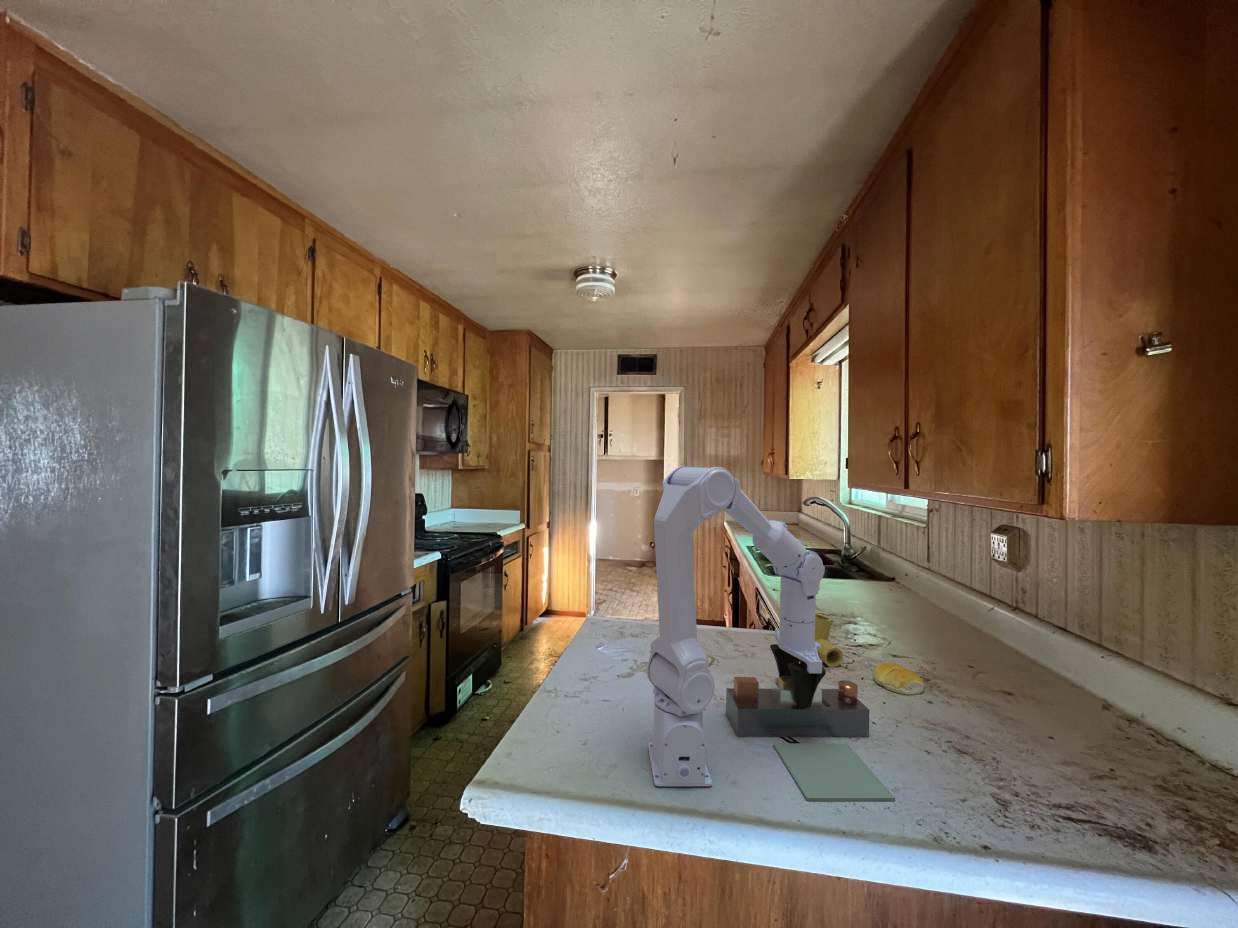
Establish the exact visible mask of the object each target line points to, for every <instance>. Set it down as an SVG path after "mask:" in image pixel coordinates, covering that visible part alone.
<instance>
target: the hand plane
mask: <svg viewBox="0 0 1238 928" xmlns="http://www.w3.org/2000/svg"><path fill="white" fill-rule="evenodd" d="M759 684H760V682H759V681H758V679H757V678H756V677H755V676H734V677H733V688H730V687H729V688H728V687H726V691H725V693H726V695H725V696H726V697H725V700H726V701H725V715H726V717H727V718H728V721H729V723H730V725H731V727H732V729H733V730H734V733H735V735H736V737H740V738H741V737H748V738H749V737H751V738H753V737H754V738H757V737H758V738H759V737H760V738H761V737H763V738H764V737H767V738H768V737H770V738H771V737H780V738H781V737H782V738H785V737H788V738H796V737H797V738H799V737H800V738H801V737H802V738H804V737H806V738H809V737H810V738H811V737H812V738H869V737H870V710H871V709H869V708H868V706H866V705H865V704H864V703H863V702H862V701H861V700H860V699H858V693H859V692H858V689H859V687H858V684H856V683H855V682H853V681H850V680H839V681H838V683H837V684H838V685H837V688H820V689H821V690H822V706H811V707H810V708H799V707H798V706H786V705H780V704H779V703H778V702H777V700H776V699H775V698H774V696H773V695H772V693H771V692H770V688H759V687H760V685H759Z"/></svg>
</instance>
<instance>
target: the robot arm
mask: <svg viewBox="0 0 1238 928" xmlns="http://www.w3.org/2000/svg"><path fill="white" fill-rule="evenodd" d="M722 511H724V512H725V513H726V514H727V515H729V516H730V517H731V518H732V519H734V521H736V522H737V523H738V524H739V525H741V527H743V528H744V529H745V530H746V531H747V532H749V533H750V534H751V535H752V544H753V546H754V547H755V548H756V550H758V551H759V552H760V553H761V554H762V555H763V556H764V557H765V558H766V559H768V561H769V562H771V563H772V569H773V572H774V573H775V575H776V576H779V577H780V593H779V598H780V599H779V626H778V627H779V628H778V627H777V628H774V629H775V630H774V639H775V640H776V641H777V644H776V643H775V644H773V643H772V644H770V645H769V647H770V650H771V652H772V654H773V655H772V656H773V657H774V660H775V662H776V663H775V664H776V667H777V671H778V676H792V679H793V683H794V692H795V701H796V705H797V706H798V707H799V708H810V707H811V704H812V701H813V697H814V694H815V691H816V688H817V686H818V685H819V684H820V682H821V681H822V680H823V678H824V677H825V676H826V672H827V671H826V668H825V667H823V661H822V660H820V659H819V656H818V653H817V650H820V649H821V645H820V644H819V643H818V642H815V613H816V610H817V609H816V605H817V603H816V601H817V595H818V594H819V592H820V584H821V581H822V580H823V578H824V574H825V570H826V567H825V566H824V564H823V560H822V558H821V557H820V556H819V554H818V553H817V552H815V551H813V550H810V549H806V547H805V546H804V545H803V541H802V540H801V539H798V538H796V537H795V536H794V535H793V534H792V533H791V532H790V531H789V529H788V526H789V525H787V524H786V523H785V522H784V521H777V520H774V519H772V520H768V518H767V517H766V516H765V515H764V513H762V512H761V510H760V509H759V508H758V507H757V506H756V504H754V502H753V501H752V500H751V499H750V498H749V497H748V496H747V495H746V493H745V492H744V491H743V490H742V488H741V483H740V480H739V479H737V478H736V477H733V475H732V474H731V472H730V471H729V470H727V469H726V468H724V467H720V466H714V467H694V466H692V467H690V466H685V465H680V466H678V467H676V468H675V469H673V470H672V471H671V472H670V473H669V474H668V475H667V476H666V477H665V478H664V479H663V480H662V496H661V499H660V501H659V504H658V507H657V509H656V512H655V515H654V519H653V532H654V550H655V552H654V553H655V566H656V567H655V570H656V589H657V591H656V592H657V608H658V609H657V610H658V628H659V631H658V633H659V636H658V637H657V638H655V639H653V640H652V641H651V642H650V654H649V658H648V661H647V665H646V671H645V672H646V677H647V679H648V681H649V682H650V684H651V685H652V686H653V691H652V692H653V694H654V696H653V697H654V701H653V702H654V703H653V704H654V705H653V738H652V739H653V741H649V742H648V743H647V749H648V754H649V761H650V767H651V771H652V773H651V774H652V778H653V779H652V780H653V785H654V786H656V787H711V786H713V780H712V777H711V774H710V772H709V768H708V766H707V763H706V756H707V753H706V752H707V750H706V749H707V742H706V737H705V733H704V730H703V726H704V722H703V721H704V712H705V711H706V708H707V707H708V705H710V703H711V701H712V699H713V696H714V692H715V687H716V686H715V679H714V677H713V674H712V673H711V671H710V668H709V659H708V656H707V654H706V652H705V651H704V649H703V646H702V645H701V644H700V641H699V640H698V630H697V614H696V613H697V610H696V609H697V608H696V589H695V569H694V568H695V567H694V565H695V564H694V549H693V548H694V547H693V533H694V531H695V530H696V529H697V528H698V527H699V526H700V525H701V524H702V523H705V522H706V521H708V520H709V519H711V518H713V517H715V515H717V514H719V513H720V512H722ZM818 687H819V686H818Z"/></svg>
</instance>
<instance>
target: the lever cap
mask: <svg viewBox="0 0 1238 928" xmlns="http://www.w3.org/2000/svg"><path fill="white" fill-rule="evenodd" d="M769 689H770V692H771V693H772V695H773V696H774V698H775V699H776V700H777V702H778V703H779V704H780V705H786V706H797V705H796V701H795V692H794V683H793V679H792V676H779V675H778V676H777V677H770V688H769ZM821 689H822V688H820V687H819V686H817V688H816V691H815V694H814V697H813V701H812V704H811V706H822V690H821Z"/></svg>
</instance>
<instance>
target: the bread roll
mask: <svg viewBox="0 0 1238 928" xmlns="http://www.w3.org/2000/svg"><path fill="white" fill-rule="evenodd" d="M872 677H873V680H874V682H875V683H876V684H877V685H880V686H881V687H883V688H885V689H886V690H888V691H891V692H893V693H896V694H901V695H907V696H910V695H911V696H912V695H919V694H922V693H923V691H924V688H925V687H924V685H925V683H924V681H923V679H922V678H921V677H920V676H919V675H918V674H917V673H915V672H914V671H913V670H910V669H907V668H904V667H903V666H902V665H900V664H897V663H893V662H883V663H880V664H877V665H876V666H875V667H874V670H873V675H872Z"/></svg>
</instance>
